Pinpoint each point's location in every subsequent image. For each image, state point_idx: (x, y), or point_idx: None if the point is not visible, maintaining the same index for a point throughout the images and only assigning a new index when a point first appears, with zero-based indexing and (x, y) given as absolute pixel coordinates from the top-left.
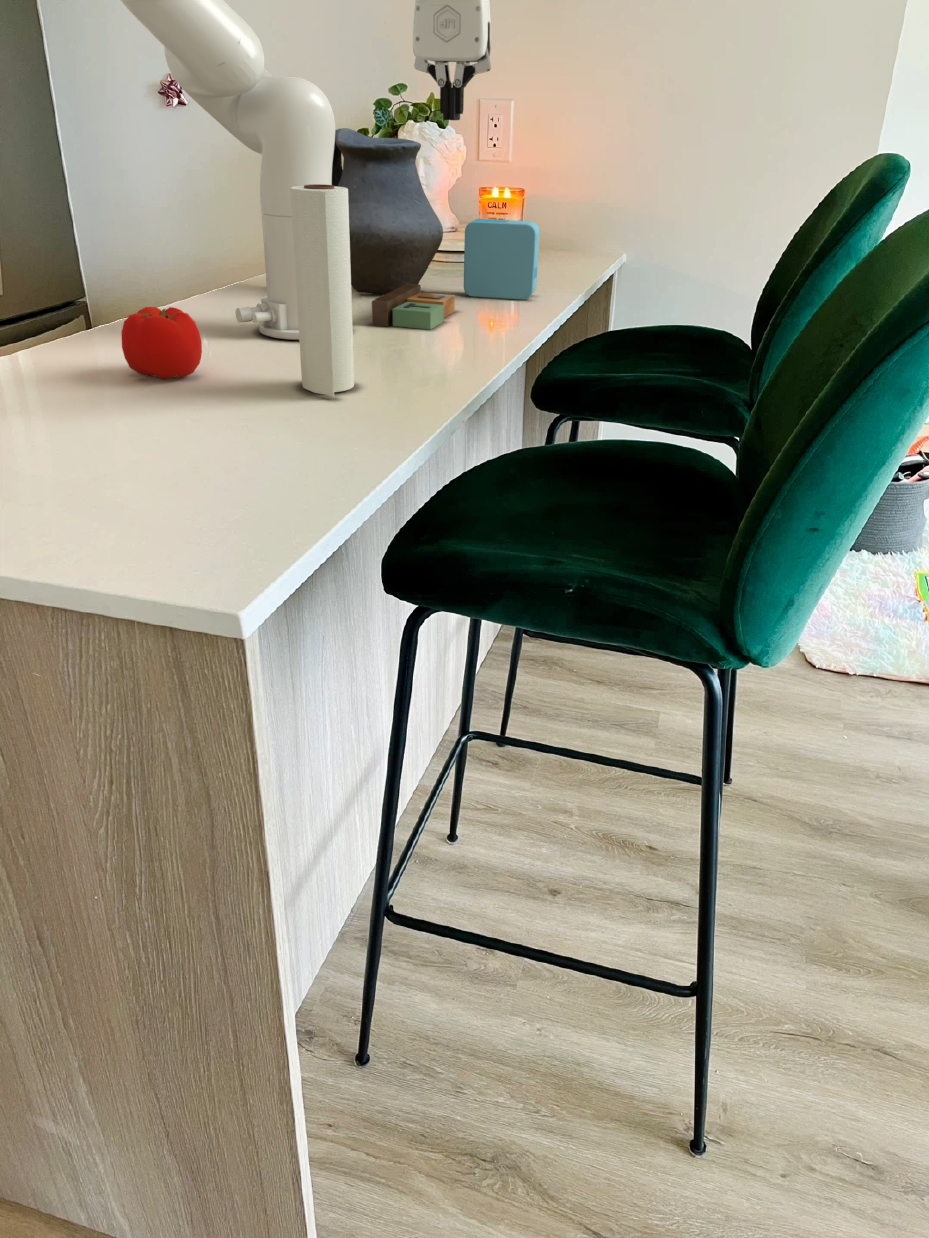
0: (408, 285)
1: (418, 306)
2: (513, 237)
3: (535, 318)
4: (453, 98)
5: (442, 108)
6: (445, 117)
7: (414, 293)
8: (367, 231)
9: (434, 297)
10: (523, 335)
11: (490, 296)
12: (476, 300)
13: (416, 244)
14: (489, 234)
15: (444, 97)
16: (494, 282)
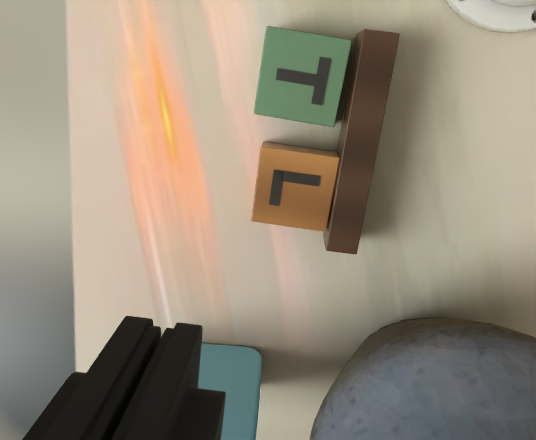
0: (349, 234)
1: (301, 73)
2: None
3: (101, 192)
4: (75, 401)
5: (204, 400)
6: (183, 327)
7: (331, 209)
8: (480, 339)
9: (285, 179)
10: (89, 32)
11: (212, 344)
12: (233, 321)
13: (355, 360)
14: None
15: (156, 414)
16: (201, 359)
